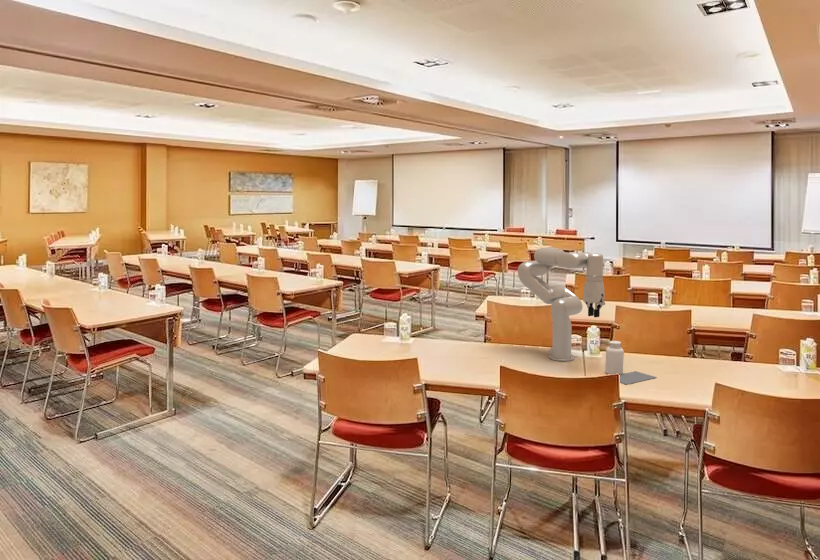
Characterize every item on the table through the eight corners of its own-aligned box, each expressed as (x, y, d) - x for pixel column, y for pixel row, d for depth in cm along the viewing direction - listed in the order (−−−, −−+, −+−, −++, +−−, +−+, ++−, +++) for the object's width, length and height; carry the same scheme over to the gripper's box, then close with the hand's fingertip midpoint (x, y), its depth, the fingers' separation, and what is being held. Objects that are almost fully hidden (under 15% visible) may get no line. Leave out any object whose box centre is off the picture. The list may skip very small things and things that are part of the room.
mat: (605, 378, 270) (605, 377, 269) (635, 371, 279) (635, 371, 279) (626, 384, 259) (626, 384, 259) (657, 377, 269) (657, 377, 269)
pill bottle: (621, 376, 272) (621, 344, 270) (603, 373, 277) (604, 342, 275) (624, 372, 279) (625, 341, 277) (607, 369, 283) (608, 339, 281)
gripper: (576, 278, 289) (575, 314, 292) (601, 281, 275) (601, 319, 278) (587, 276, 293) (586, 313, 295) (613, 280, 279) (612, 318, 281)
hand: (593, 316), depth 286 cm, fingers open, 3 cm apart
